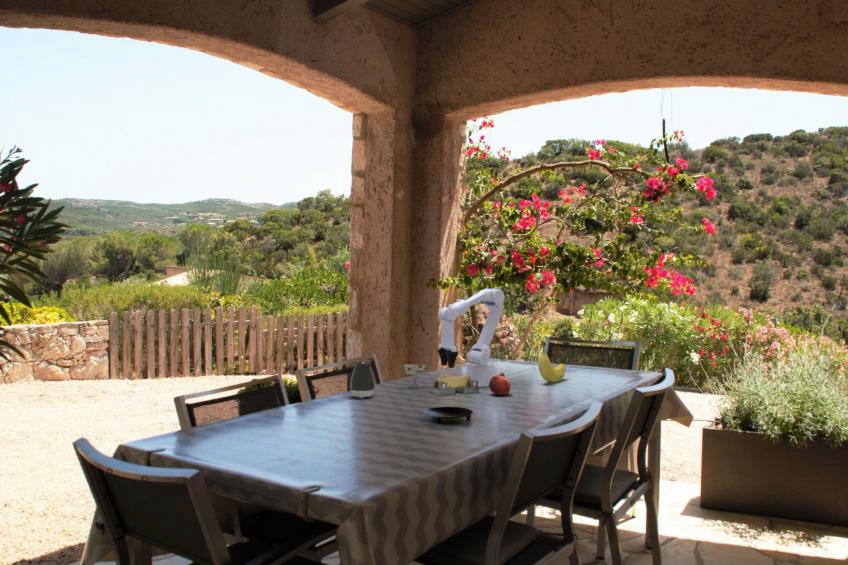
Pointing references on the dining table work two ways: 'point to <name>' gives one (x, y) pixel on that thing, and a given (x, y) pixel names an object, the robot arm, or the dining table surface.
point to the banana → (550, 368)
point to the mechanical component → (413, 372)
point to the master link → (455, 381)
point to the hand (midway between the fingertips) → (447, 366)
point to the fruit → (499, 384)
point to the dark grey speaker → (362, 380)
